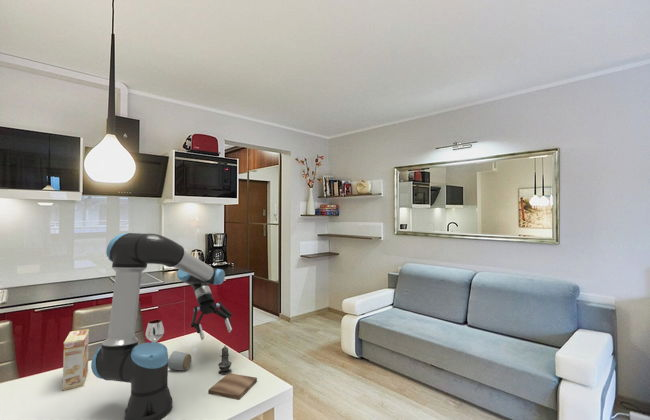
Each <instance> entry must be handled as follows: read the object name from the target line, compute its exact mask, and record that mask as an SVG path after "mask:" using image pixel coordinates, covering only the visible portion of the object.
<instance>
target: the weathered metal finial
mask: <svg viewBox="0 0 650 420" xmlns="http://www.w3.org/2000/svg"><path fill="white" fill-rule="evenodd" d="M229 356H230V355H229V348H228V347H227V346H226V345H224V347H222V348H221V355H220V357H221V361H220V362H219V363H218V364H217V366H218V368H219V371H218V374H219V375H220V376H226V375H227V374H228V373H232V370H231V369H230V368H231V367H232V364H233V363H232V362H231V361H229Z"/></svg>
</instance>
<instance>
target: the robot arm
mask: <svg viewBox="0 0 650 420" xmlns="http://www.w3.org/2000/svg"><path fill="white" fill-rule="evenodd" d="M105 253H106V257H107V258H108V260H109V261H110V262H112V263H111V268H112V269H113V270H114V272H115V278H114V284H113V285H114V286H113V293H112V301H111V308H110V317H109V322H108V323H109V324H108V333H107V338H106V339H105V340H103V341H102V342H101V346H100V347H99V348H97V350H96V351H95V353H94V354H93V356H92V358H91V363H90V366H91V367H90V368H91V371H92V373H93V375H94V376H95V377H96V378H98V379H103V380H105V381H113V382H120V383H121V382H122V383H128V384H130V397H129V399H128V403H127V406H126V408H125V410H124V411H125V412H124V420H162V419H163V418H165V417H166V416H167V415H169V413H171V411H172V409H173V402H174V401H173V396H172V395H171V391H170V389H169V386H168V385H169V383H168V381H169V380H168V377H169V374H168V373H169V368H168V359H169V354H168V353H169V352H168V351H169V350H168V348H167V346H166V345H165V344H164V343H161V342H158V341H157V342H152V341H150V342H142V343H139V338H138V337H137V336H136V335H135V333H136V325H137V317H138V309H139V299H140V293H141V291H140V290H141V285H142V284H141V283H142V274H143V272H144V271H145V270H146V269H147V268H148V264H150V265H153V264H155V265H162V266H166V267H168V268H172V267H174V268H175V269H178V270H177V272H176V276H177V278H178V279H179V280H180V281H181V282H183V283H185V284H187V285H189V286H191V287H192V288H193V292H194V294H195V299H196V302H197V305H198V306H197V305H195V306H194V307H193V309H192V312H193V314H192V317H191V318H192V319H191V323H190V328H194V329H195V331H196V333H197V334H199V337H200V340H201V341H203V340H204V339H205V333H204V331H203V327H202V324H201V323H200V322H201V320H202V319H203V317H204V315H210V314H215V315H217V316H219V317H221V318H223V319H224V322H225V325H226V328H227V332H228V333H231V331H232V330H233V328H232V326H231V325H232V321H231V318H232V316H233V313H232V312H230V310H228V309H227V307H226V306H224V305H223V303H222V301H218V302H217V303H216V302H215V300H214V296H213V294H212V290H211V288H210V285H214V286H215V285H221V284H223V283H224V280H225V278H226V273H225V270H224V269H221V268H213V267H212V266H210V265H209V264H207V263H205V262H204V261H202V260H201V259H199V258H198V257H196V256H194V255H192V254H190V253H189V252H187V251H186V250H185V248H184V247H183V245H181V244H180V243H177V242H176V241H174V240H172V239H170V238H168V237H167V236H164V235H161V234H158V233H140V232H138V233H137V232H135V233H134V232H125V233H119V234H117V235H115V236H114V237H113V238H112V239H111V240H110V241H109V242H108V244H107V246H106V252H105ZM199 311H200V312H201V314H200V315H199V317H198V320H197V316H198V312H199ZM196 320H197V321H196Z"/></svg>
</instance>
